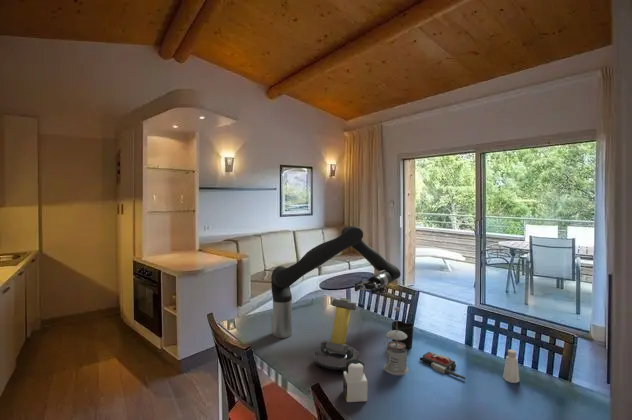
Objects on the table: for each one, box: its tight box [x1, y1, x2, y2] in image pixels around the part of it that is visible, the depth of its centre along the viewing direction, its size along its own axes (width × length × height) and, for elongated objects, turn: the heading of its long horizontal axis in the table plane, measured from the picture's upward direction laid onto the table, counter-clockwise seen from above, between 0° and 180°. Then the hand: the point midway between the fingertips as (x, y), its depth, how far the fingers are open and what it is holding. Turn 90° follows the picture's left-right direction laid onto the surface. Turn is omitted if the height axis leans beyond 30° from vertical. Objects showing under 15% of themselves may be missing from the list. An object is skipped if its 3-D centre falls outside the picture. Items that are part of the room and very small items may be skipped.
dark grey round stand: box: [314, 339, 360, 375], centre depth 144 cm, size 18×18×8 cm
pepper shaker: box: [502, 349, 520, 384], centre depth 133 cm, size 5×5×11 cm
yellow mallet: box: [325, 297, 357, 355], centre depth 146 cm, size 10×6×22 cm, turn 58°
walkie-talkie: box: [419, 351, 466, 380], centre depth 141 cm, size 9×4×20 cm
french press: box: [383, 306, 410, 376], centre depth 141 cm, size 10×12×25 cm
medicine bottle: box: [342, 359, 368, 403], centre depth 122 cm, size 7×7×12 cm
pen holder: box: [391, 320, 414, 351], centre depth 161 cm, size 9×9×10 cm
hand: (363, 290), depth 164 cm, fingers open, 8 cm apart
